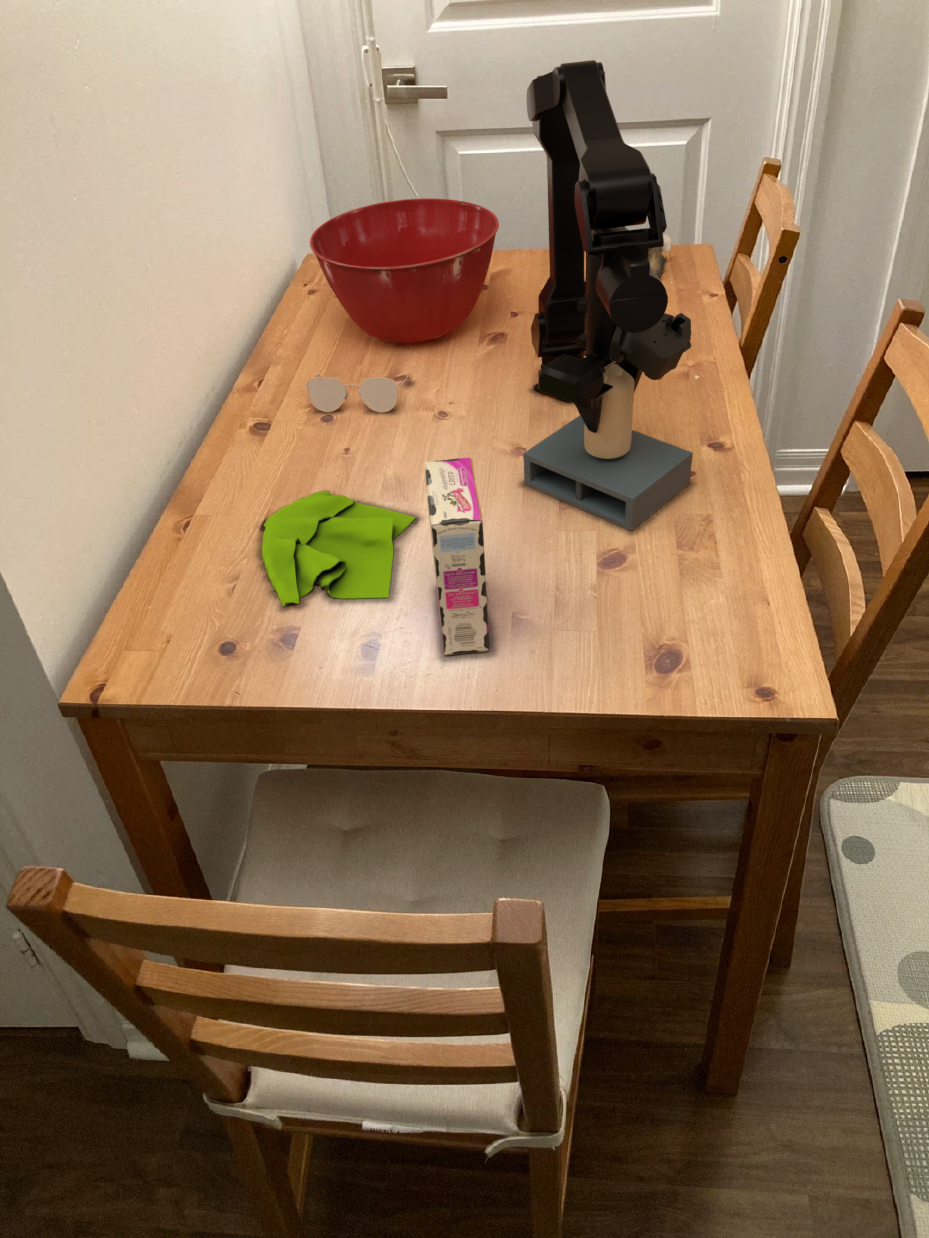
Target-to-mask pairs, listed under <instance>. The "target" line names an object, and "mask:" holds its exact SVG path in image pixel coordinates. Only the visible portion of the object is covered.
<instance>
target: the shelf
mask: <svg viewBox="0 0 929 1238" xmlns="http://www.w3.org/2000/svg"><path fill="white" fill-rule="evenodd" d="M692 462H693V452H692V451H690V450H687V449H684V448H681V447H679V446H676V445H674V444H671V443H668V442H666V441H663V440H661V439H657V438H655V437H652V436H650V435H647V434H645V433H641V432H638V431H636V430H634V429H632V437H631V447H630V450H629V451H628V452H627V453H626V454H625V455H623V456H620V457H617V458H611V459H605V458H598V457H595V456H592V455H590V454H589V453H588V452H587V451H586V450H585V446H584V421H583V419H582V417H581V415H580V414H579V415H577V417H575V418H574V419H572V420H571V421H569V422H568V423H566V424H564V425H563V426H562V427H560V428H558V429H557V430H556V431H554V432H553V433H552V434H550V435H548V436H547V437H546V438H544V439H543V440H541V441H540V442H538V443H537V444H535V445H534V446H532V447H531V448H529V449H527V450H526V451H524V453H523V476H524V477H523V479H524V480H523V481H524V482H523V483H524V485H525V486H527V487H529V488H531V489H534V490H536V491H538V492H541V493H543V494H545V495H548V496H550V497H552V498H554V499H557V500H558V501H562V502H564V503H566V504H568V505H570V506H572V507H575V508H577V509H579V510H581V511H584V512H586V513H589V514H590V515H593V516H595V517H598V518H600V519H602V520H604V521H606V522H609V523H610V524H613V525H616V526H618V527H620V528H623V529H624V530H627V531H629V532H633V531H635V529H637V528H638V527H639V526H640V525H642V524H643V523H644V522H645V521H646V520H648V519H649V518H650V517H651V516H653V515H654V514H655V513H657V511H659V510H661V508H663V506H665V505H666V504H667V503H669V502H670V501H671V500H672V499H673V498H675V497H676V496H677V495H679V493H681V492H683V491H684V490H685V489H686V488H687V487H688V486H689V485H690V483H691V473H692V465H693V464H692Z"/></svg>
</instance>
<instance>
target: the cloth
mask: <svg viewBox="0 0 929 1238" xmlns="http://www.w3.org/2000/svg"><path fill="white" fill-rule="evenodd" d="M415 520H416V516H412V515H409V514H405V513H401V512H397V511H394V510H390V509H386V508H382V507H378V506H374V505H368V504H365V503H362V502H356V501H355V500H353V499H351V498H350V497H348V496H346V495H342V494H332V493H331V492H330V490H321V491H316V492H313V493H311V494H309V495H306V496H302V497H300V498H298V499H297V500H295V501H293V502H291V503H289V504H287V505H285V506H283V507H281V508H280V509H279V510H277V511H275V513H273V514H271V515H269V516H268V517H267V518H266V519H265V521H264V523H263V524H262V526H263V527H264V530H263V533H262V534H263V535H262V544H261V555H262V556H261V558H262V562H263V565H264V567H265V572H266V575H267V578H268V579H269V581H270V584H271V586H272V589H273V590H274V592H275V593H276V594H277V597H278V598H279V601H280V603H281V606H282V607H287V606H289V605H292V604H297V605H299V604H300V599H302V598H304V597H306V596H307V595H308V594H310V593H311V592H312V591H313V590H314V583H315V584H317V585H319V586H320V589H323V590H325V592H326V594H328V595H329V596H330V597H331V598H334V599H339V600H341V599H342V600H355V599H356V600H358V599H361V600H363V599H365V600H366V599H389V597H390V596H389V595H390V591H391V590H390V589H391V579H392V574H393V561H394V544H393V542H394V540H395V539H396V538H397V537H398V536H399V535H400V534H402V533H403V532H405V530H407V528H408V527H409V526H410V525H411V524H412V523H413V522H414V521H415Z"/></svg>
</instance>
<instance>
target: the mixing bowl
mask: <svg viewBox="0 0 929 1238" xmlns="http://www.w3.org/2000/svg"><path fill="white" fill-rule="evenodd" d="M499 227H500V221H499V218H498V216H497V215H496V214H495V213H493V211H491V210H490V209H489V208H487V207H484V206H481V205H479V204H475V203H473V202H468V201H464V200H459V199H458V200H457V199H449V198H431V197H430V198H429V197H428V198H423V197H422V198H406V199H397V200H390V201H384V202H383V201H382V202H378V203H372V204H368V205H365V206H361V207H358V208H355V209H352V210H348V211H345V212H344V213H341V214H338V215H336V216H334V217H332V218H330V219H328V220H327V221H325V222H323V224H321V225H319V226H318V227H317V228H316V229H315V230H314V231H313V233H312V234H311V236H310V238H309V247H310V249H311V251H312V253H313V254H314V255H315V257H316V259H317V261H318V264H319V267H320V269H321V271H322V273H323V276H324V278H325V280H326V282H327V283H328V285H329V287H330V289H331V290H332V293H333V294H334V296H335V297H336V299H337V300H338V303H339V304H340V305H341V307H342V308H343V309H344V310H345V312H346V314H347V315H348V316H349V317H350V319H351V320H352V321H353V323H355V325H356V326H357V327H358V328H359V329H361V330H362V331H363V332H365V333H366V334H368V335H370V336H371V337H374V338H377V339H379V340H381V341H382V342H385V343H388V344H393V345H400V346H409V345H410V346H412V345H421V344H426V343H431V342H434V341H437V340H440V339H442V338H445V337H447V336H448V335H450V334H451V333H452V332H454V330H455V329H457V328H458V327H460V326H461V325H462V324H463V323H464V322H466V321H467V319H468V317H470V315H471V313H472V312H473V310H474V308H475V306H476V304H477V302H478V300H479V297H480V295H481V292H482V290H483V287H484V285H485V281H486V279H487V275H488V273H489V268H490V266H491V262H492V261H491V260H492V256H493V251H494V247H495V240H496V236H497V235H496V234H497V233H498V231H499Z"/></svg>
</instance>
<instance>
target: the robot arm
mask: <svg viewBox="0 0 929 1238" xmlns="http://www.w3.org/2000/svg"><path fill="white" fill-rule="evenodd" d="M526 112H527V118H528V121H529V122H531V123H532V133H533V135H534V137H535V138H536V139H537V142H538V143H539V145H540V147H541V148H542V149H543V152H544V154H545V155H546V175H547V177H546V179H547V180H546V181H547V214H548V215H547V216H548V217H547V220H548V249H549V250H548V257H549V258H548V259H549V277H548V278H547V280H546V282H545V284H544V285H543V287H542V289H541V290H540V293H539V294H538V298H537V299H538V302H537V303H538V306H537V307H538V312H536V313H535V314H534V316H533V319H532V323H531V325H530V334H531V335H530V336H531V344H532V347H533V349H534V352H535V355H536V357H537V359H538V358H541V364H540V369H539V370H538V371H537V383H536V384H534V385H533V391H535V392H538V393H540V394H543V395H547V396H549V397H552V398H555V399H556V400H560V401H562V402H566V403H573V404H574V406H575V408H576V410H577V412H578V413H579V416H580V415H581V417H582V419H583V421H584V423H585V425H586V427H587V429H588V430H589V431H591V432H593V433H596V432H597V431H598V427H599V422H600V415H601V407H602V398H603V395H604V394H605V393H606V392H608V391H609V390H611V389H612V388H613V386H611V385H609V384H606V383H604V375H605V374H606V370H605V369H607V368H608V367H610V366H611V365H613V364H617V365H618V366H620V367H621V368H622V369H623V370H625V371H626V372H627V373H628V374H630V375H631V376H632V377H633V379H634V394H635V393H636V389H637V387H638V384H639V383H640V380H641V377H642V375H643V374H644V376H645V377H646V378H648V379H649V380H652V381H658V380H661V379H662V378H663V377H664V376H665V375H667V374H668V373H670V372H671V371H674V370H675V369H677V367H678V364H679V362H680V361H681V358H682V356H683V355H684V354H685V353H686V352H687V351H688V350H690V349H691V348H692V343H691V340H692V320H691V318H690V317H688V316H687V315H686V314H684V313H683V312H680V313H678V314H676V316H674V315H673V314H670V313H666V311H667V308H668V303H669V295H668V292H667V289H666V286H665V285H664V283H663V282H662V280H661V279H660V277H658V276H657V275H656V274H655V272H654V271H653V269H652V268H651V266H650V262H649V261H648V248H656V247H663V246H664V239H663V234H665V232H666V230H667V228H668V225H667V219H666V213H665V208H664V207H665V206H664V202H663V195H662V190H661V186H660V184H659V183H658V179H657V176H656V174H655V173H654V172H651V169H650V166H649V164H648V162H647V160H646V159H645V157H644V155H643V153H642V152H641V151H640V150H638V149H636V148H635V147H632V146H630V145H629V144H628V143H625V141H624V138H623V137H622V133H621V130H620V127H619V124H618V122H617V119H616V116H615V114H614V110H613V107H612V103H611V101H610V99H609V96H608V92H607V83H606V71H605V68H604V65H603V63H602V61H599V62H597V61H596V60H595V59H592V60H583V61H573V62H572V61H571V62H564V63H561V64H559V66H555V67H554V68H553V69H552V71H550V72H547V73H545V74H543V75H537V76H536V78H534V79H532V80H531V82H530V84H529V85H528V87H527V90H526ZM646 222H648V227H644V228H636V229H635V228H634V229H628V228H627V227H633V226H642V225H644V224H645V223H646Z"/></svg>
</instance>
